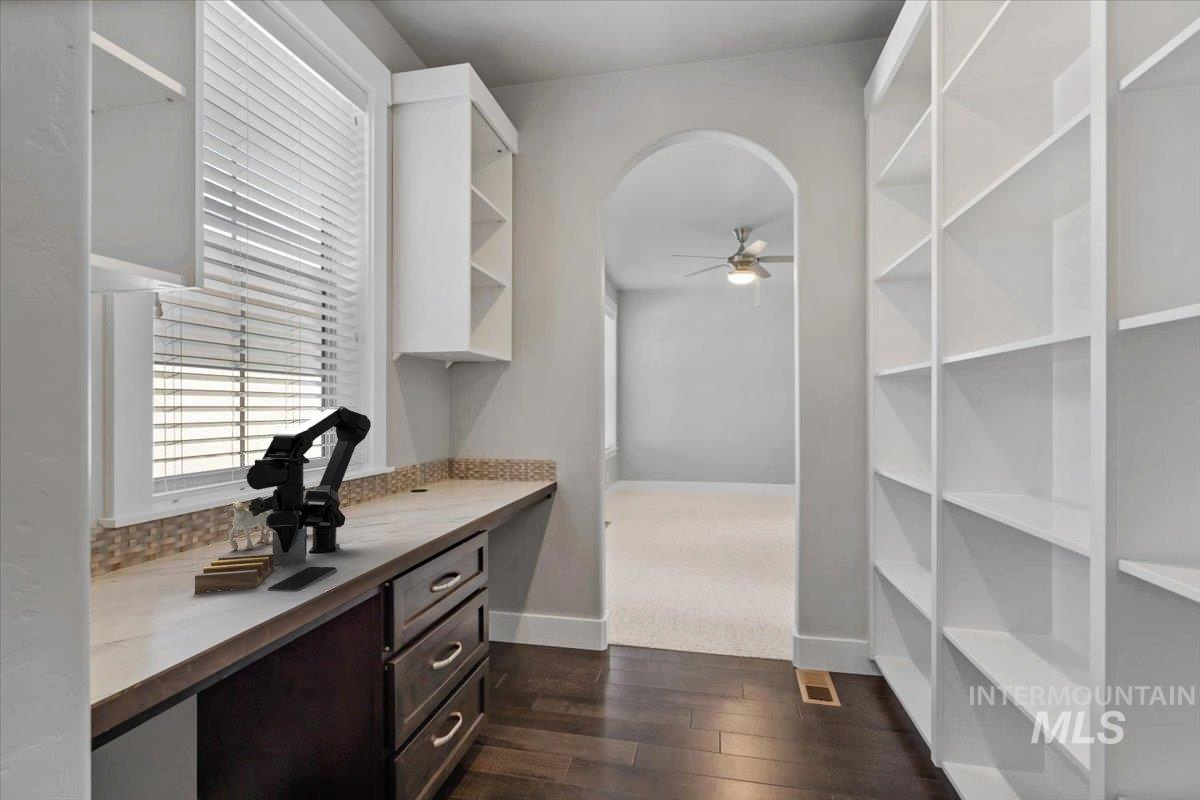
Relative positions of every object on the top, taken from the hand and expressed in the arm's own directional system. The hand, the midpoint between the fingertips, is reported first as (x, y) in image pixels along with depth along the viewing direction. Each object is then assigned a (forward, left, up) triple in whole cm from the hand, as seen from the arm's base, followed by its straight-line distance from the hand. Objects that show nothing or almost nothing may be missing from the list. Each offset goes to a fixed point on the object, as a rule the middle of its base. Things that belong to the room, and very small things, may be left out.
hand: (289, 547), depth 138 cm
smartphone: (+16, +6, -4) cm, 17 cm away
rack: (+12, -8, -4) cm, 14 cm away
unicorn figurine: (-18, -11, -4) cm, 21 cm away
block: (0, 0, -4) cm, 4 cm away
